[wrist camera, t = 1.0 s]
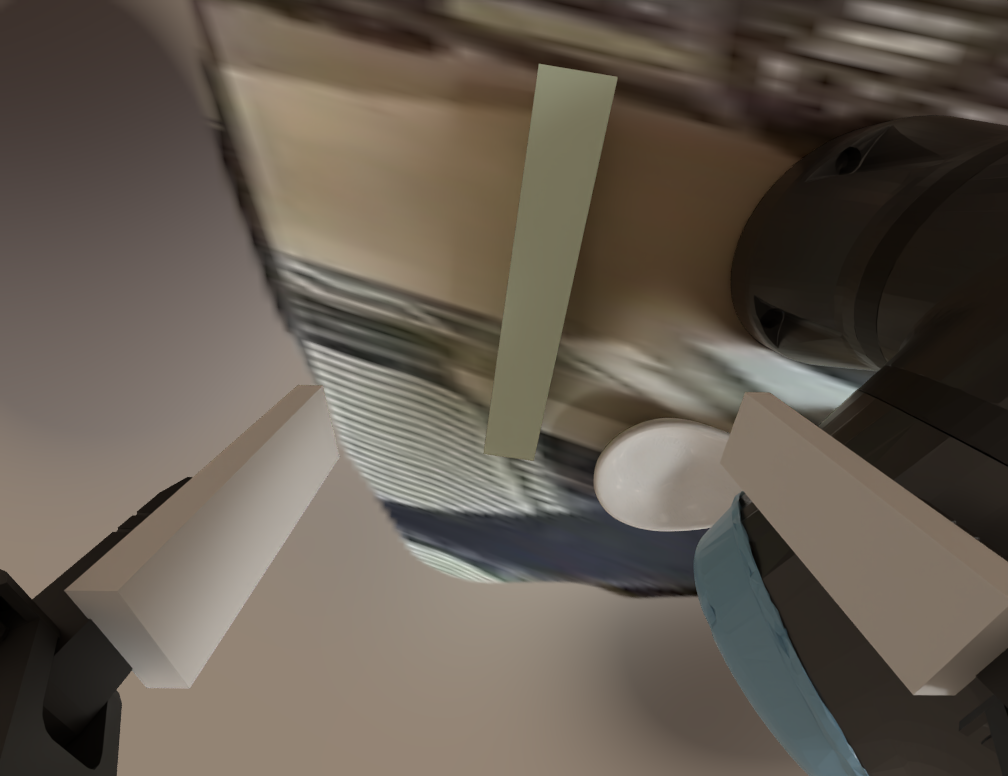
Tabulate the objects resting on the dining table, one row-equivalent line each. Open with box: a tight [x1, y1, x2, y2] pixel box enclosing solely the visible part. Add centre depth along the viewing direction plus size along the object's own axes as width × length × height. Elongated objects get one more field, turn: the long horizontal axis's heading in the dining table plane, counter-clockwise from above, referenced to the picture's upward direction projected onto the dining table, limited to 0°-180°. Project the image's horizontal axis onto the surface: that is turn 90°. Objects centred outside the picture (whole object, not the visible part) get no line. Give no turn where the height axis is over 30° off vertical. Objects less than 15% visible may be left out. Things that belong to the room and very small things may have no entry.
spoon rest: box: [594, 418, 743, 531], centre depth 30 cm, size 24×12×7 cm, turn 100°
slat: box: [484, 64, 618, 461], centre depth 25 cm, size 4×24×5 cm, turn 172°
